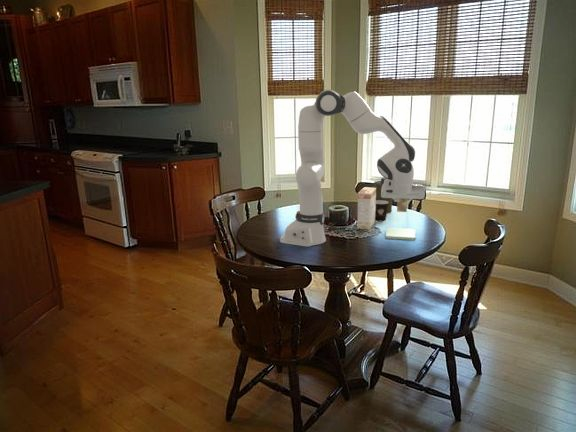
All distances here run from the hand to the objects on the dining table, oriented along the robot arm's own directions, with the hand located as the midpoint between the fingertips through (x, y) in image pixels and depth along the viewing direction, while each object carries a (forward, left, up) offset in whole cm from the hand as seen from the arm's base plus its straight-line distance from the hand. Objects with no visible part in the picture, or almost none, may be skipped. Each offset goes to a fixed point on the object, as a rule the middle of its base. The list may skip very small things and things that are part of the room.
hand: (402, 200), depth 207 cm
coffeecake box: (-18, +13, -18) cm, 28 cm away
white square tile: (0, 0, -18) cm, 18 cm away
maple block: (0, -1, -5) cm, 5 cm away
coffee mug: (-13, +26, -18) cm, 34 cm away
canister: (-11, +44, -18) cm, 49 cm away
